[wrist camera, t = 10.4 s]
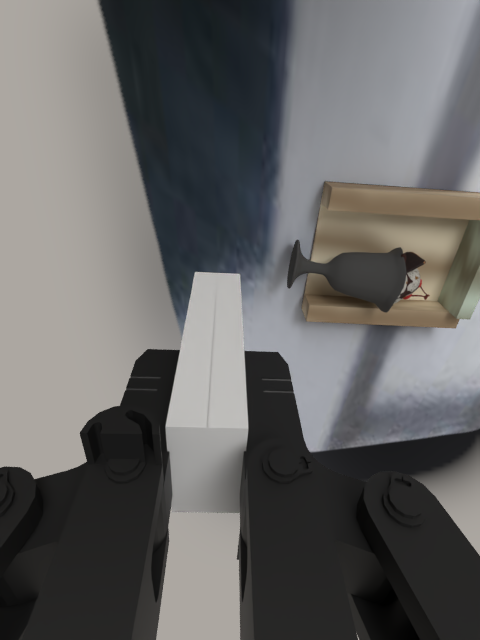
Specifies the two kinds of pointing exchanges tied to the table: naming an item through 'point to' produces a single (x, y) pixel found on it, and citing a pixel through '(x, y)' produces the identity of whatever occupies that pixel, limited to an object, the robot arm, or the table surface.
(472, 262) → the rest
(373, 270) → the sundae
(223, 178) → the table surface
